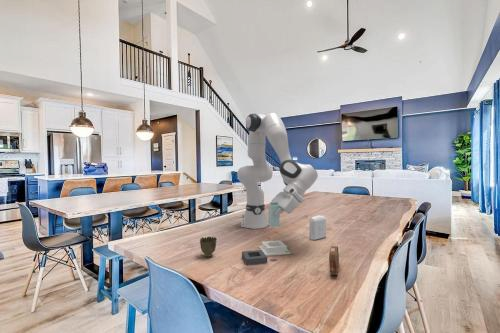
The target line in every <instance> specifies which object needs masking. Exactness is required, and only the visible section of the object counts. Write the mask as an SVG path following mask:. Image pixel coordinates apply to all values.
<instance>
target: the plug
mask: <svg viewBox="0 0 500 333" xmlns="http://www.w3.org/2000/svg"><path fill="white" fill-rule="evenodd" d="M269 202H270V203H269V204H268V223H269V226H270V227H271V228H278V227H280V215H281V214H279V215H278V216H277V217H275V216H274V215H273V213H274V212H275V211H277V210H279V208H280V207H279V205H278V202H271V201H269Z"/></svg>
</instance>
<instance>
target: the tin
mask: <svg viewBox="0 0 500 333" xmlns="http://www.w3.org/2000/svg"><path fill="white" fill-rule="evenodd" d="M339 258H340V254H339V246H338V245H337V246H336V245H332V246H330V248H329V253H328V262H329V275H331V276H339V268H340V259H339Z"/></svg>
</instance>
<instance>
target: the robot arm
mask: <svg viewBox="0 0 500 333" xmlns="http://www.w3.org/2000/svg"><path fill="white" fill-rule="evenodd" d="M245 126H246V129H247V130H248V131H249V132H248V140H247V157H248V158H250V160H252V164H253V165H245V166H241V167H239V169H237V172H236V175H237V176H236V177H237V179H238V181H239V182H240V183H241V184H242V185H243V186H244V189H245V193H246V194H245V195H246V204H245V211H244V213H243V214H241V220H240V227H241V228H247V229H254V230H255V229H256V230H257V229H265V228H267V227H268V226H269V222H268V212H267V211H265V209H266V208H265V207H266V205H265V193H264V191H263V189H261V188H260V186H259V183H265V182H268V181H269V180H271V179H272V178H273V172H274V171H273V170H272V167H270V165H269V163H268V162H267V158H266V138H267V140H268V142H269V143H270V145H271V147H272V148H273V150H274V152H275V153H276V155H277V157H278V159H279V162H280V165H279V167H278V168H279V173H280V176H281V178H282V180H283V184H284V185H285V186H284V188H283V189H282V190H283V191H280V192H278V193H277V194H276V195H275V196H274V197H273V198H272V199H271V201H270V202H278V205H279V207H280V208H279V210H277V211H275V212H274V213H273V215H274V216H275V217H277V216H278V215H279V214H280V215H281V214H282V213H283V212H285V213H288V214H291V213H292V212H293V211H295V209H297V208H298V207H299V206H300V204H302V203H303V202H304V201H305V198H303V196H304V194H305V193H306V191H308V190H309V189H310V188H311V187H312V186H313V185H314V184H315V182H316V181H317V180H318V171H317V170H316V169H315V167H314V166H313V165H311V164H309V163H308V164H303V163H299V162H297V161H295V160H293V159H292V156H291V154H290V148H289V147H290V146H289V139H288V133H287V129H286V126H285V123H284V122H283V120H282V118H281V116H279V114H278V113H277V112H269V113H250V114H248V115H247V117H246V119H245Z"/></svg>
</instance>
